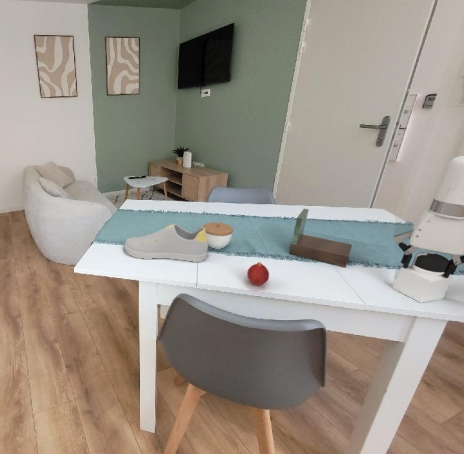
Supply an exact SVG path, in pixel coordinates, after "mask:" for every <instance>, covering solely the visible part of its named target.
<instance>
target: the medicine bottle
mask: <svg viewBox="0 0 464 454" xmlns="http://www.w3.org/2000/svg"><path fill="white" fill-rule="evenodd" d="M449 263H450V259H449V258H447V257H446V256H444V255H441V254H438V253H435V252H429V251H421V252H417V253H416V254H415V256H414V258H413V261H412V263H411V265H408V268H403V266H401V267H400V269H399V271H398V273H397V276H396V279H395V280H394V283H393V287H392V288H393V289H394V290H396V291H398V292H399V293H400V294H403V295H405V296H407V297H408V298H411V299H413V300H415V301H416V302H418V303H420V304H422V303H429V302H433V301H439V300H442V299H443V298H444V297H445V295H446V293H447V291H448V289H449V287H450V285H451V283H452V281H453V275H451V274H450V275H449V277H448V278H445V277H444V276H443V274H444V273H445V271H446V269H447V267H448V265H449Z"/></svg>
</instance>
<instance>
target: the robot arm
mask: <svg viewBox="0 0 464 454" xmlns="http://www.w3.org/2000/svg"><path fill="white" fill-rule="evenodd" d="M405 239H408V240H409V243H408V244H406V243H405V241H404V240H405ZM393 240H394V241H395V243H396V244H397V245H398V247H399V248H400V249H401V251H402V252H403V255H402V258H401V260H400V264H402V267H403V268H408V266H410V262H411V261H412V259H413V253H414V252H416V251H417V250H418V249H422V250H427V251H431V252H437V253H441V254H442V253H443V254H447V255H451V259H449V261H450V263H449V265H448V267H447V269H446V271H445V273H444V274H443V276H444V277H445V278H448V277H449V275H450V276H453V275H454V274H455V272H456V271H457V269H458V267H459V266H461V265H463V264H464V155H460V156H455V157H453V158H452V159H451V160H449V162H448V164H447V165H446V168H445V171H444V173H443V176H442V178H441V180H440V183H439V185H438V187H437V190H436V192H435V195H434V197H433V199H432V201H431V204H430V206H429V207H427V208H426V207H425V208H423V210H422V211H421V213H420V214H419V216H418V218H417V219H416V221H415V223H414V225H413V227H412V229H411V230H407V231H405V232H402V233H401V232H400V233H398V234H395V235H393Z"/></svg>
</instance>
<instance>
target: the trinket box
mask: <svg viewBox="0 0 464 454" xmlns="http://www.w3.org/2000/svg"><path fill="white" fill-rule="evenodd" d="M202 227H203V228H205V232H206V237H207V241H208V246H209V247H208V248H210V247H211V248H210V249H212V248H215V249H214V250H222V249H221V248H223V249H224V248H225V247H226V246H228V245H229V244H230V243H231V240H232V238H233V232H234V227H233V226H231V225H230V224H227V223H224V222H218V221H217V222H216V221H212V222H206V223H204V224H203V226H202Z"/></svg>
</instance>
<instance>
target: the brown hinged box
mask: <svg viewBox="0 0 464 454" xmlns="http://www.w3.org/2000/svg"><path fill="white" fill-rule="evenodd" d="M308 215H309V208H303V209H302V211H301V212H300V213H299V214H298V215H297V217H296V221H295V225H294V229H293V234H292V239H291V243H290V248H289V252H288V255H293V256H296V257H300V258H305V259H309V260H313V261H317V262H321V263H325V264H329V265H332V266H337V267H341V268H346V267H347V264H348V261H349V258H350V255H351V250H352V247H353V244H352V243H351V244H350V243H347V242H340V241H336V240H331V239H328V238H327V239H326V238H323V237H317V236H313V235H307V234H304V230H305V226H306V222H307V218H308Z"/></svg>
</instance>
